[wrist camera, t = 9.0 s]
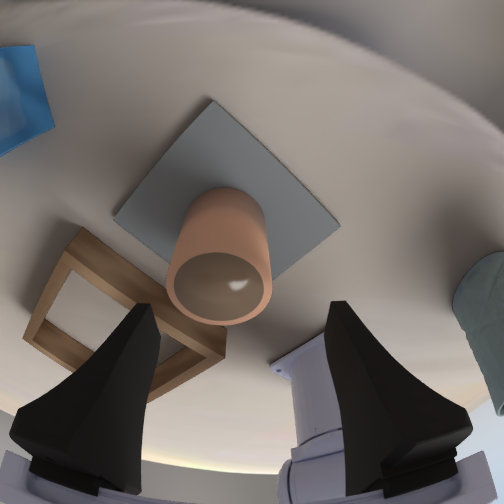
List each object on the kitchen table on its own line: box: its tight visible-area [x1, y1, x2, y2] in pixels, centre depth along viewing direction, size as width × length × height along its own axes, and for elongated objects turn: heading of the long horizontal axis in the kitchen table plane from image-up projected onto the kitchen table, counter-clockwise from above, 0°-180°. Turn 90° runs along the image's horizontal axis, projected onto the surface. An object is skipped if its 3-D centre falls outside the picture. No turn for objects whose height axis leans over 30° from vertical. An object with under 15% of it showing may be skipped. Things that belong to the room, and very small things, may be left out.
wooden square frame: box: [22, 227, 227, 403], centre depth 24 cm, size 14×14×3 cm
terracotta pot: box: [166, 188, 273, 325], centre depth 17 cm, size 5×5×6 cm
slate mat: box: [113, 100, 341, 280], centre depth 19 cm, size 11×10×1 cm
